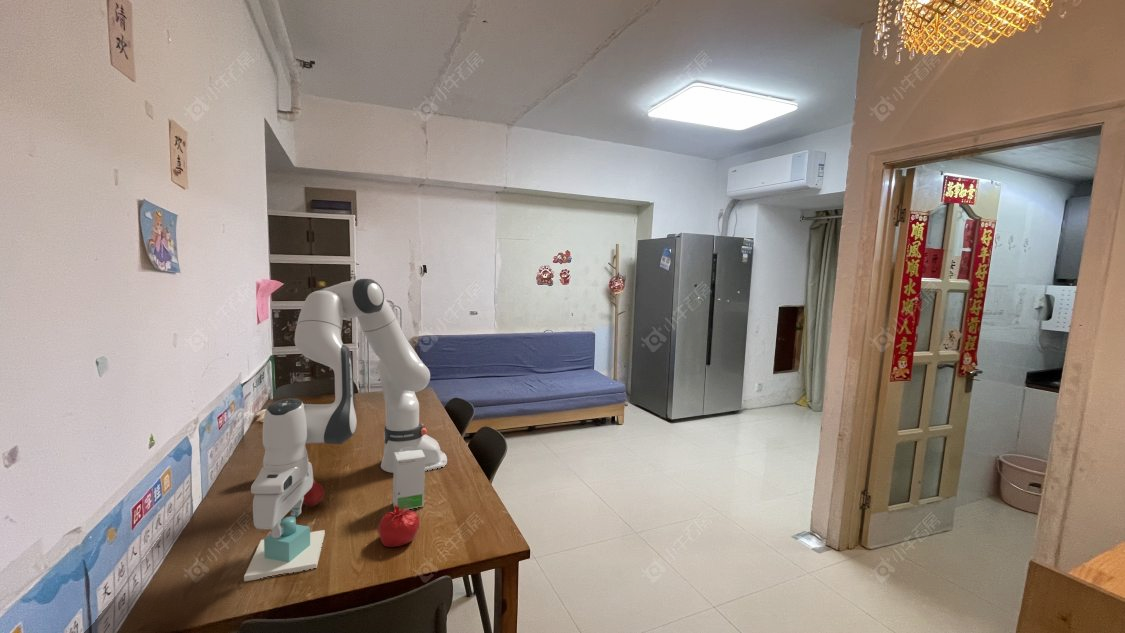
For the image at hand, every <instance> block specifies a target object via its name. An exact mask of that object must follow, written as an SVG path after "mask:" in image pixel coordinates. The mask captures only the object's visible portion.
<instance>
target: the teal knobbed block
mask: <svg viewBox="0 0 1125 633" xmlns="http://www.w3.org/2000/svg"><path fill="white" fill-rule="evenodd" d="M296 518H297V517H292V516H286V517H283V518H282V519H281V523H280V526H281V527H283V534H282V535H281V536H280V537H278V538H273V537H272V532H271V533H269V534H268V535H267V536H266V537H264V538H263V539H264V556H265V558H268V559H273V560H279V561H285V562H290V561H292V560H293V559H294V558H295V557H296V556H298V555H299V554H300V553H301V552H303V551H304V550H305V549H306V548H307V547H309V546H310V532H311V527H310V526H309V525H308V526H307V525H302V524H297V522H296V520H297V519H296Z"/></svg>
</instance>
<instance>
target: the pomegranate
mask: <svg viewBox="0 0 1125 633" xmlns="http://www.w3.org/2000/svg"><path fill="white" fill-rule="evenodd" d="M405 507H407V506H405ZM405 507H403V508H402V509H401V510H399V506H398V505H396V506H395V507H394V506H393V511H388V512H386V513H384V515H383V517H382V518H381V519H380V521H379V523H378V527H377V532H378V536H379V538H380V541H381V543H382V545H383V546H385V547H389V548H393V547H400V546H403V545H407V544H409V543H410V542H412V541H413V540H414V539H415V537H416V536H417V533H418V531H419V528H420V516H419V515H418V514H417V513H416V512H415V511H414V510H404V508H405Z"/></svg>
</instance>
